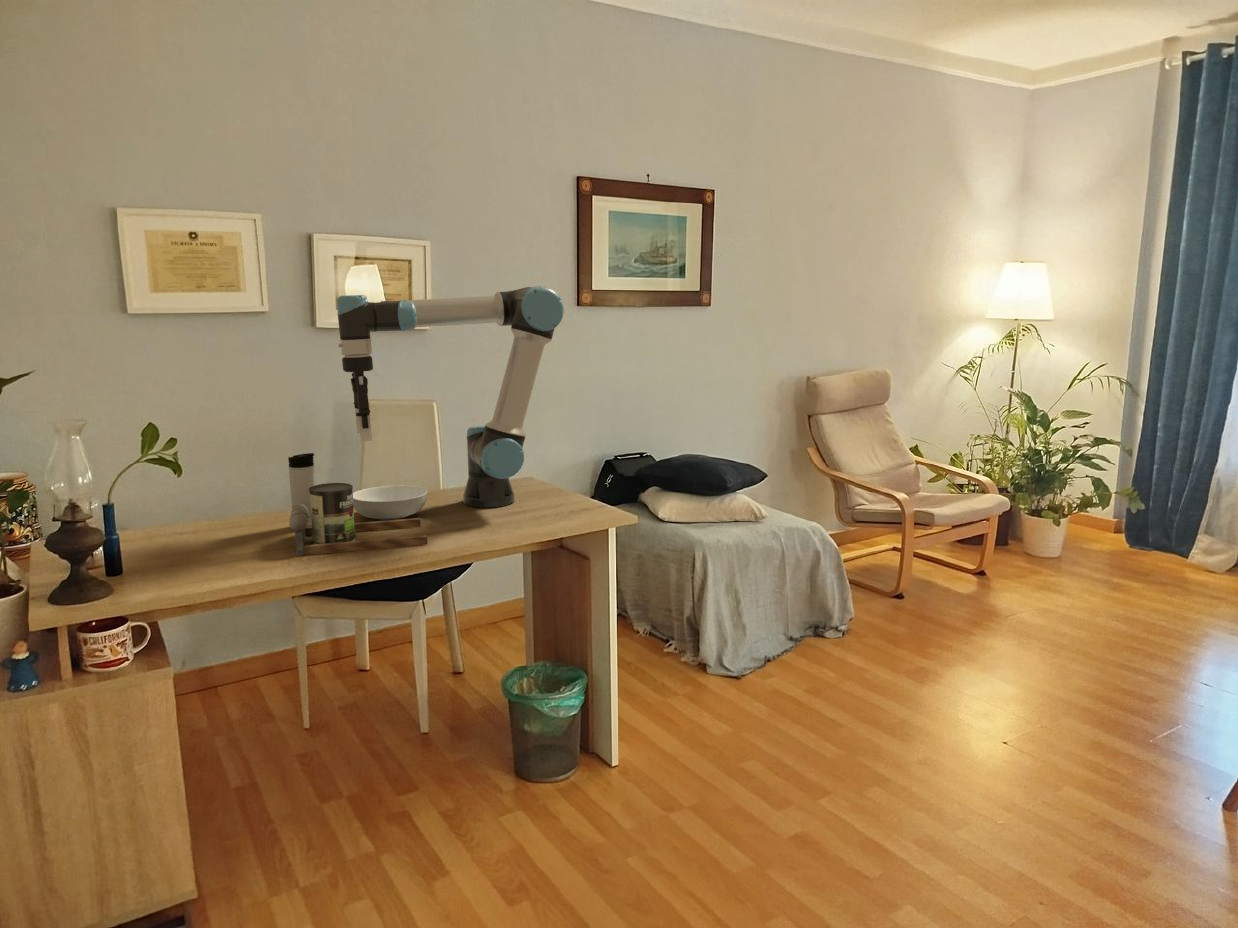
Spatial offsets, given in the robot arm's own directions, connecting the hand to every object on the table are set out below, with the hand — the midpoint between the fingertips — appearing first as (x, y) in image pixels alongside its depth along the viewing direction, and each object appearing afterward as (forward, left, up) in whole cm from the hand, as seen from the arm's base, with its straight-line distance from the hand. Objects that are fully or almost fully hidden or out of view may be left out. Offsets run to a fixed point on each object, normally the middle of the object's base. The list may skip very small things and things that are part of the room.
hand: (364, 436), depth 225 cm
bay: (+2, +14, -24) cm, 28 cm away
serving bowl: (-6, -8, -24) cm, 26 cm away
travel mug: (+16, -3, -24) cm, 29 cm away
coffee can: (+9, +14, -24) cm, 29 cm away
